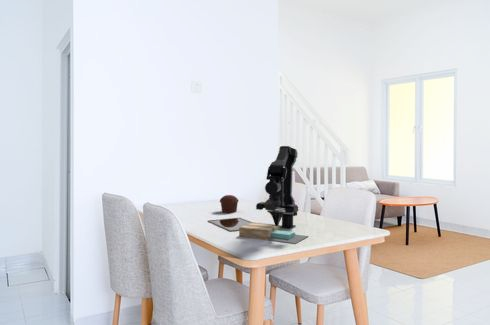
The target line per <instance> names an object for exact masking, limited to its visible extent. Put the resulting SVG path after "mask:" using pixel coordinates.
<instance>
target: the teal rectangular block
mask: <svg viewBox="0 0 490 325" xmlns="http://www.w3.org/2000/svg"><path fill="white" fill-rule="evenodd" d="M295 233H296V232H295V231H287V230H281V229H280V230H276V231H274V232H271V237H275V238H282V239H291V238H293V237H295Z"/></svg>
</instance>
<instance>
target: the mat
mask: <svg viewBox="0 0 490 325" xmlns="http://www.w3.org/2000/svg"><path fill="white" fill-rule="evenodd" d="M307 238H309V235H302V234H295V237H293V238H291V239H282V238H275V237H271V238H269V239H267V240H266V241H270V242H279V243H286V244H293V245H296V244H298V243H300V242H302V241H304V240H305V239H307Z"/></svg>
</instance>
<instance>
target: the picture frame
mask: <svg viewBox="0 0 490 325" xmlns="http://www.w3.org/2000/svg"><path fill="white" fill-rule="evenodd" d="M207 222H208V223H210V222H211V223H210V224H212V223H213V225H214V224H215V226H217V227H219V228H221V229H222V230H223V229H224V230H226V231H228V232H230V233H231V232H233V233H234V232H239V227H242V226H245V225H248V224H250V223H253V221H251V220H247V219H245V218H242V217H231V218H230V217H229V218H221V219H210V220H207Z"/></svg>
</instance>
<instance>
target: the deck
mask: <svg viewBox="0 0 490 325" xmlns="http://www.w3.org/2000/svg"><path fill="white" fill-rule="evenodd" d="M252 222H253V221H252ZM280 226H281V224H279V225H278V226H275V223H274V224H271V223H263V222H253V223H250V224H248V225H245V226H242V227H239V231H238V233H239V234H238V236H239V237H242V238H249V239H251V238H252V239H256V240H257V239H259V240H266V241H268V240H267V239H269V238H271V232H274V231H276V230H280V231H281V227H280Z"/></svg>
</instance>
